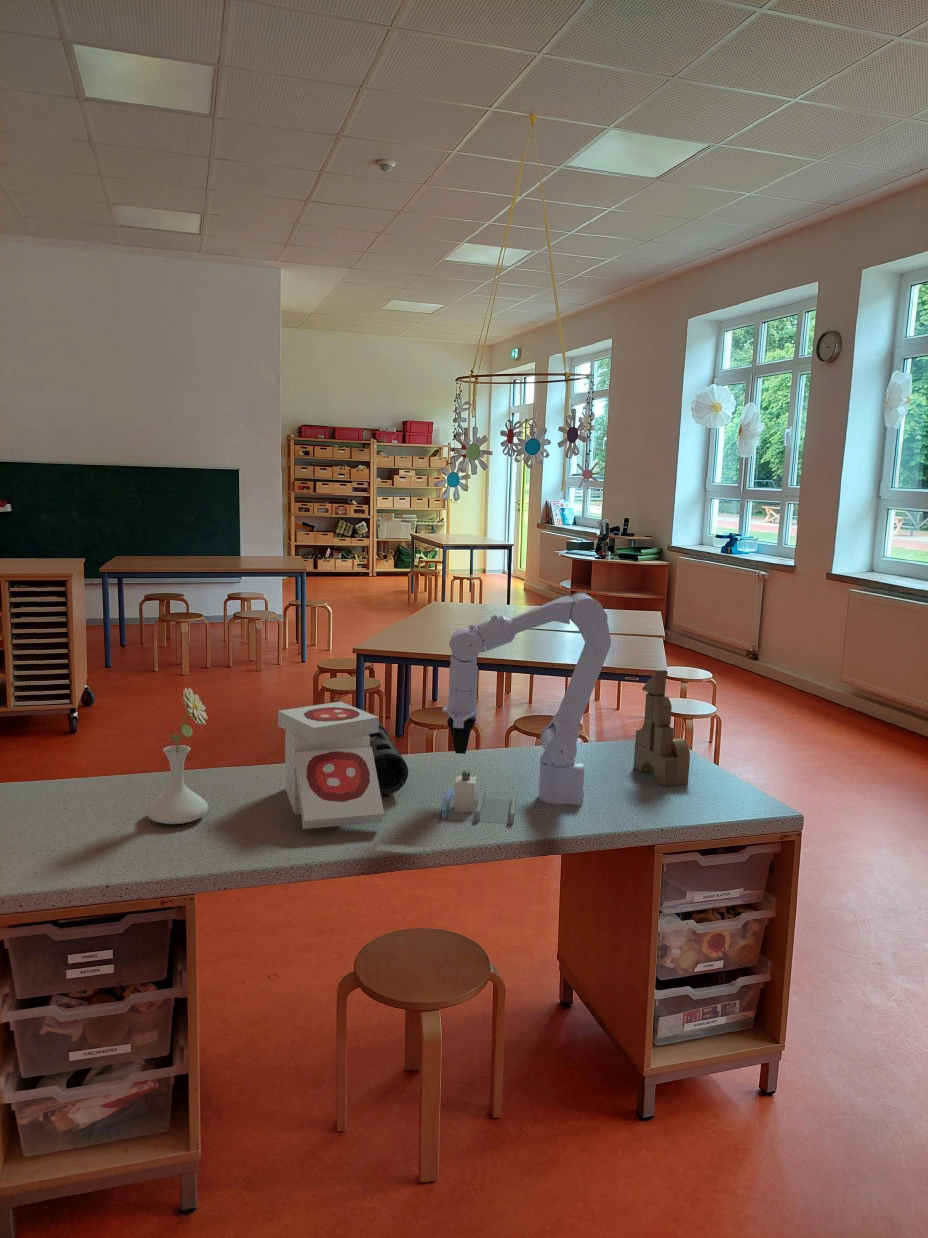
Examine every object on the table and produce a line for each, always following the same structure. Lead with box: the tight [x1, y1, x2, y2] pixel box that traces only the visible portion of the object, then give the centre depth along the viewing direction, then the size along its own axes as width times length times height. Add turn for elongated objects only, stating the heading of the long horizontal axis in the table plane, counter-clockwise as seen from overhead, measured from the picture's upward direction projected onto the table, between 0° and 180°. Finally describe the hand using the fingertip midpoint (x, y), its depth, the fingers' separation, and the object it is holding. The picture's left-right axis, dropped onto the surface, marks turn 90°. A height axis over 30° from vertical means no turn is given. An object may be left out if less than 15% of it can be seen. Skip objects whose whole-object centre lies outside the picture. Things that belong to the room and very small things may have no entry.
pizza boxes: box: [277, 701, 385, 830], centre depth 177 cm, size 19×30×18 cm, turn 18°
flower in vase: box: [145, 687, 209, 825], centre depth 169 cm, size 13×11×25 cm
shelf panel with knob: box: [441, 785, 518, 825], centre depth 177 cm, size 14×13×3 cm
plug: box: [453, 770, 478, 812], centre depth 177 cm, size 4×4×8 cm
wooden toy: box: [633, 669, 691, 787], centre depth 204 cm, size 16×7×25 cm, turn 19°
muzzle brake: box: [368, 722, 409, 799], centre depth 196 cm, size 10×28×10 cm, turn 16°
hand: (460, 752), depth 183 cm, fingers closed
